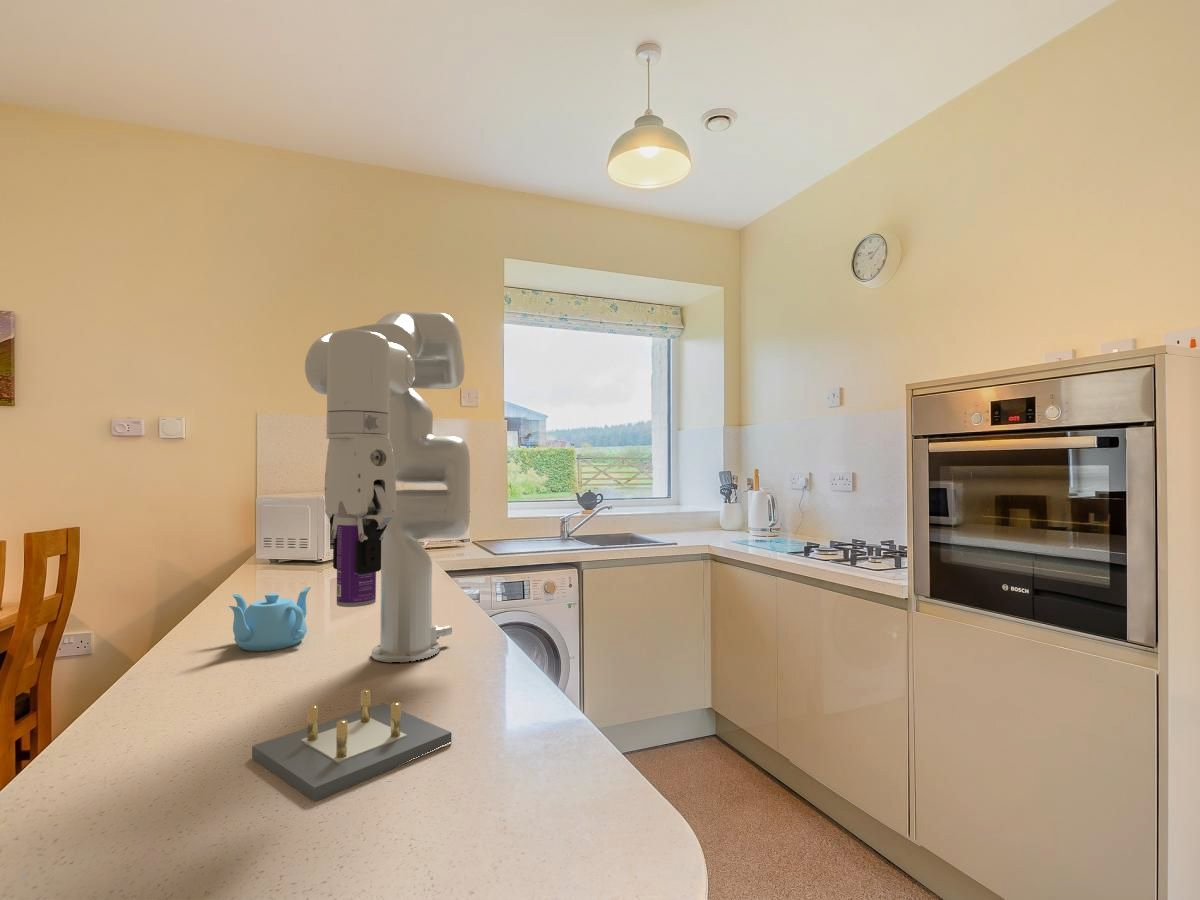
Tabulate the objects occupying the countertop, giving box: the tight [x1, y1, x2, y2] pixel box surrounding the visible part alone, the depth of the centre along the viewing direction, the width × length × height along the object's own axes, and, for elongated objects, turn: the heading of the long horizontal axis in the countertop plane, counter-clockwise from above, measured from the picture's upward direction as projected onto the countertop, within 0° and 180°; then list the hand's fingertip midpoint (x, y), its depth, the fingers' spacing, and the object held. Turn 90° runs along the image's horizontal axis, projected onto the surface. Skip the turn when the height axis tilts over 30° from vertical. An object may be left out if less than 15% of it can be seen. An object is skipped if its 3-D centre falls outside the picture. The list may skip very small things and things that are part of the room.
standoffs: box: [306, 689, 402, 758], centre depth 79 cm, size 8×8×4 cm
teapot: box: [228, 586, 312, 652], centre depth 126 cm, size 15×15×10 cm
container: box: [336, 501, 377, 608], centre depth 79 cm, size 5×5×15 cm
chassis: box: [251, 702, 452, 803], centre depth 79 cm, size 18×16×2 cm
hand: (356, 568), depth 79 cm, fingers closed on container, 4 cm apart
